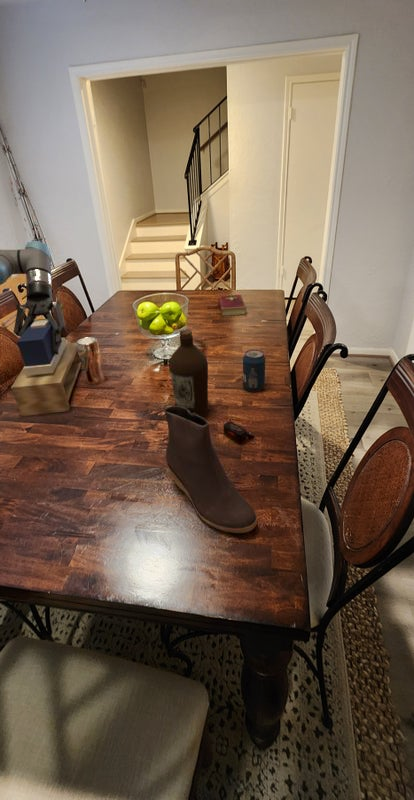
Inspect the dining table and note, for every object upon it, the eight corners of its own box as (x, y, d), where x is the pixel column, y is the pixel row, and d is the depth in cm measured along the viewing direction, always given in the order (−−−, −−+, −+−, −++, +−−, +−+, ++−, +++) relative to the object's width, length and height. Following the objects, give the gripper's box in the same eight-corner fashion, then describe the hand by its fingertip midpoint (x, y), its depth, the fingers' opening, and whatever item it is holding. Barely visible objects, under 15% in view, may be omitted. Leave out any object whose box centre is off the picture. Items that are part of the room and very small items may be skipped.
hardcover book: (221, 316, 178) (221, 308, 176) (218, 303, 196) (218, 295, 194) (246, 315, 178) (246, 306, 176) (241, 301, 196) (241, 294, 194)
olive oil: (186, 398, 115) (179, 322, 102) (216, 406, 111) (213, 327, 98) (167, 416, 108) (157, 335, 94) (199, 425, 103) (192, 342, 90)
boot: (237, 550, 69) (236, 469, 58) (157, 486, 84) (145, 413, 73) (266, 522, 74) (270, 444, 63) (186, 467, 89) (178, 395, 78)
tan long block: (21, 416, 112) (10, 387, 106) (45, 371, 137) (37, 346, 132) (69, 411, 113) (60, 382, 108) (83, 367, 138) (77, 342, 133)
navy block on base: (53, 373, 111) (42, 337, 105) (25, 375, 110) (13, 340, 104) (66, 344, 130) (58, 312, 124) (43, 346, 129) (33, 315, 123)
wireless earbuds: (242, 446, 94) (242, 436, 93) (222, 435, 99) (222, 425, 97) (254, 438, 97) (254, 428, 95) (234, 427, 101) (234, 417, 100)
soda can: (258, 380, 123) (258, 347, 117) (268, 389, 118) (269, 355, 111) (239, 384, 121) (239, 351, 115) (248, 394, 116) (249, 360, 109)
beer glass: (91, 387, 124) (80, 346, 116) (82, 380, 129) (72, 340, 121) (109, 380, 128) (101, 340, 120) (100, 374, 133) (92, 334, 125)
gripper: (0, 284, 115) (0, 353, 110) (68, 279, 117) (72, 346, 112) (11, 296, 122) (12, 361, 117) (75, 291, 124) (79, 355, 119)
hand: (41, 354), depth 114 cm, fingers closed on navy block on base, 8 cm apart
